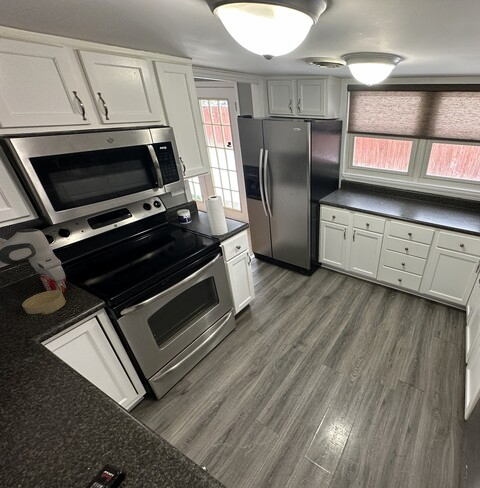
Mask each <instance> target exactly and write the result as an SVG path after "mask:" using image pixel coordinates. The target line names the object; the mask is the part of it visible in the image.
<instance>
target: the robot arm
mask: <svg viewBox="0 0 480 488" xmlns="http://www.w3.org/2000/svg"><path fill="white" fill-rule="evenodd" d="M27 260H28V262H29V264H30V266H31V267H32V268H33V270H34V271H35V272H36V273H37V274H39V275H40V274H41V273H43V274H45V275H47V276H48V277H49V278H50V279H52V280H54V281H56V285H57V286H59V287H60V286H62V285H63V284H62V280H63V279H65V278H66V273H65V271H64V268H63V266H62V261H61V260H60V259H59V258H58V257H57V256H56V255H55V253H54V251H53V249H52V248H51V247H50V243H49V241H48V239H47V236H45V234H44V232H43V231H41V230H40V229H36V228H22V229H19V230H16V231H15V233H14V234H13V235H12V236H11V237H10V238H9V239H6V238H3V237H0V263H2V264H5V265H18V264H21V263H23V262H26V261H27Z"/></svg>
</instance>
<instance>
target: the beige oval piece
mask: <svg viewBox="0 0 480 488" xmlns="http://www.w3.org/2000/svg"><path fill="white" fill-rule="evenodd" d="M66 303H67V300H66V297H65V295H64V293H63V292H61V291H57V290H53V291H47V290H46V291H43V292H39V293H36V294H34V295H32V296H30V297H28V298H27V299H25V300H24V301H23V302H22V303H21V306H22V308H23V310H24V312H25V313H26V314H29V315H36V314H43V315H45V316H46V315H49V314H52V313H54V312H57V311H58V310H60V309H62V308H63V307H64V306H65V305H66Z"/></svg>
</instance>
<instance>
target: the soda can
mask: <svg viewBox="0 0 480 488" xmlns="http://www.w3.org/2000/svg"><path fill="white" fill-rule="evenodd" d="M39 275H40V280H41V283H42V284H43V287H44V288H45V290H46V291H53V290H57V291H61V292H62V293H64V292H65V291H66V290H67V285H66V283H65V281H63V280H62V284H63V285H62V286H60V287H59V286H57V285H56V281H54V280H52V279H50V278H49V277H48V276H47V275H45V274H43V273H41V274H39Z"/></svg>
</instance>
